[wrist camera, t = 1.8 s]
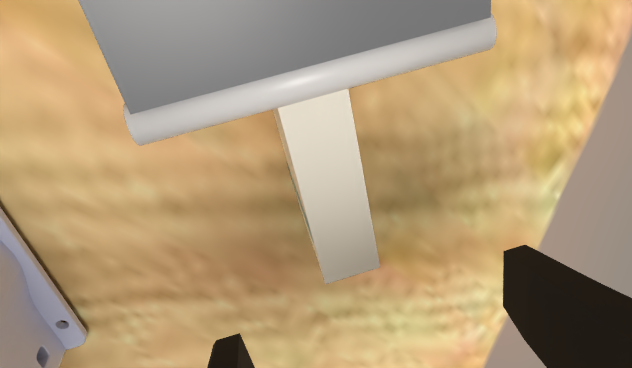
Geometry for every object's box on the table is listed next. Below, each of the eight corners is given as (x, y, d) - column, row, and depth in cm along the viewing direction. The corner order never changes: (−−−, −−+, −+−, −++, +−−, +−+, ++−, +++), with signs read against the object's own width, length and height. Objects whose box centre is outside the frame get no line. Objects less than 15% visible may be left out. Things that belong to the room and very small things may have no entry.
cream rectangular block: (341, 191, 20) (380, 267, 15) (298, 204, 20) (324, 284, 15) (237, -293, 12) (251, -454, 7) (164, -278, 12) (130, -432, 7)
